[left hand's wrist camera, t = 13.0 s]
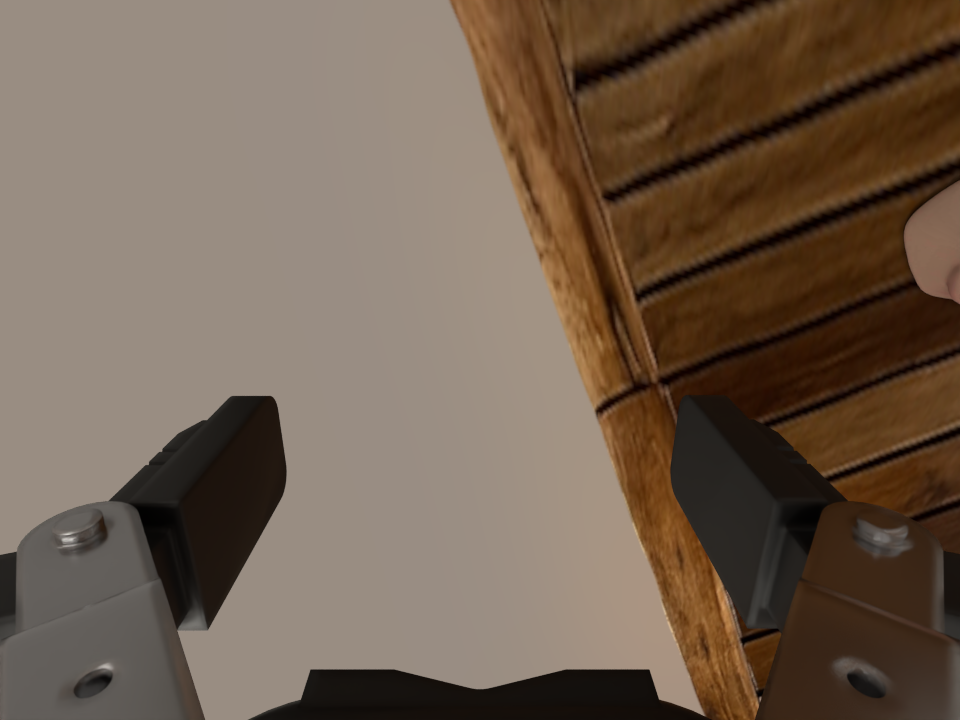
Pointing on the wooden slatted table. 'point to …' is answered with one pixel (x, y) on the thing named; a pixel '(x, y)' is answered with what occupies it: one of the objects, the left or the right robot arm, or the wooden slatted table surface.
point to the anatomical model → (936, 244)
